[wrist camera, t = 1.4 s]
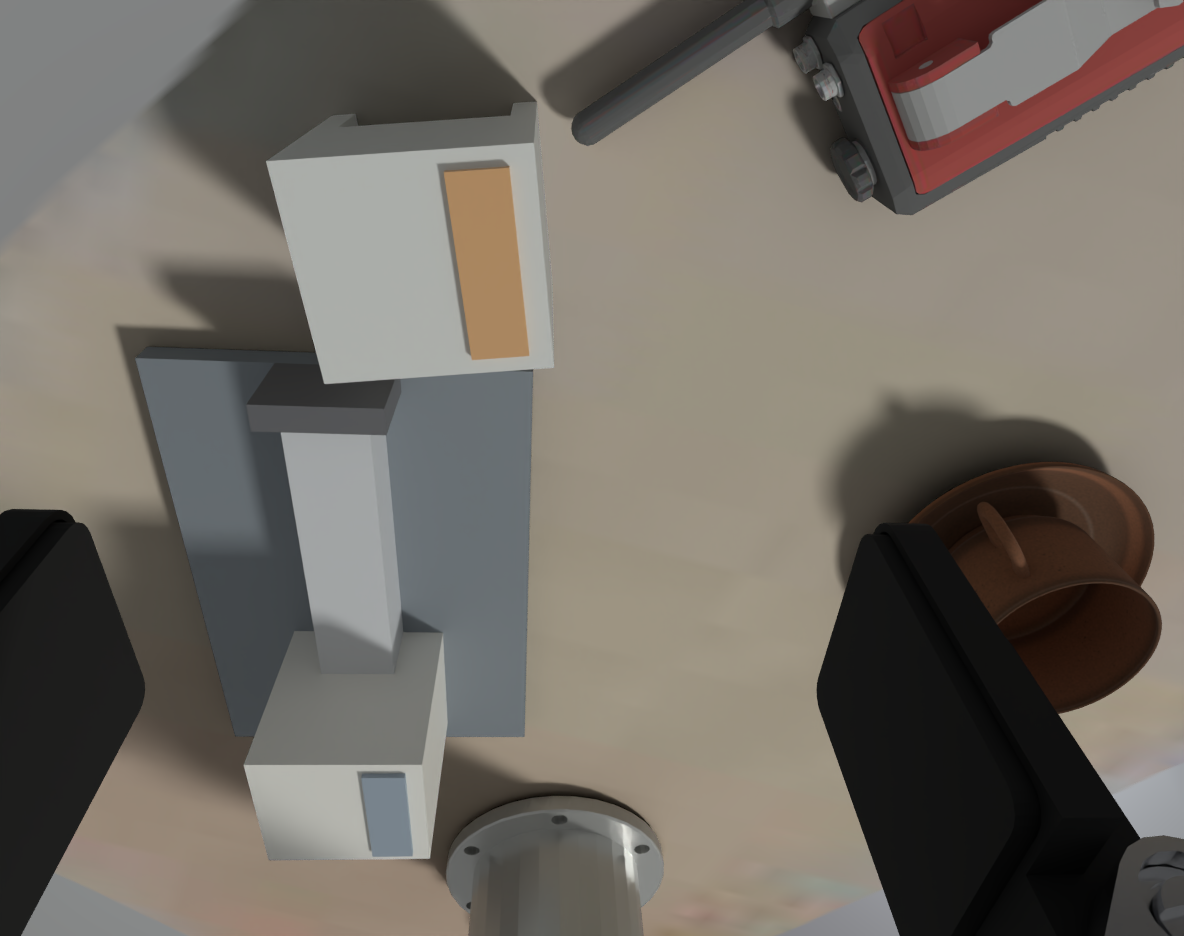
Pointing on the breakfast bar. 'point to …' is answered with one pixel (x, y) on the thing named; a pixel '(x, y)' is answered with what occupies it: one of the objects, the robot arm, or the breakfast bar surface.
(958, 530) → the cup and saucer
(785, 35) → the breakfast bar surface
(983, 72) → the walkie-talkie
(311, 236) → the block
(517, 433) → the rail
